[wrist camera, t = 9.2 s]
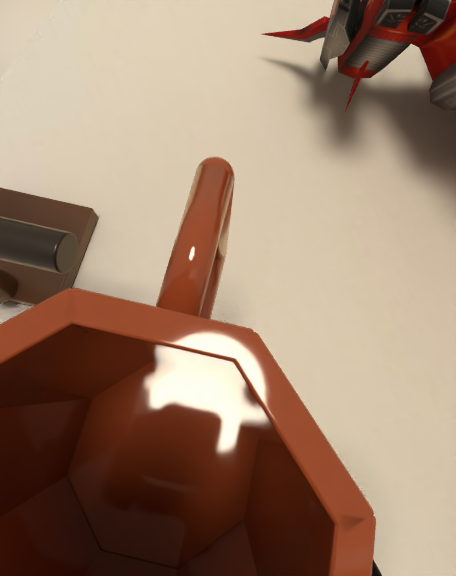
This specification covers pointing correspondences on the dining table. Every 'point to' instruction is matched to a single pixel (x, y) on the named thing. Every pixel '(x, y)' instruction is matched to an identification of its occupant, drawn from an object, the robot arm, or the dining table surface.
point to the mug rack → (40, 245)
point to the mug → (166, 434)
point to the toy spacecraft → (388, 39)
